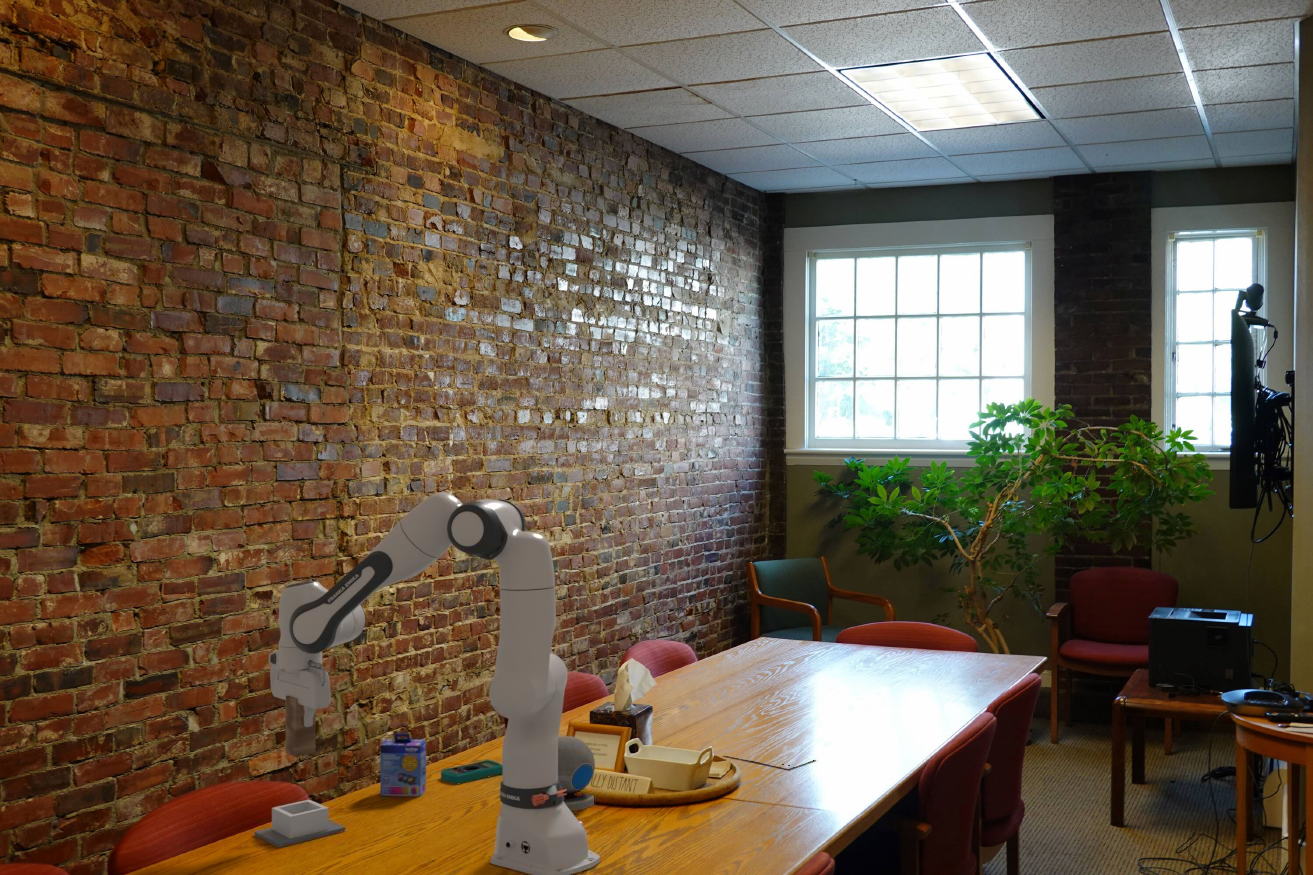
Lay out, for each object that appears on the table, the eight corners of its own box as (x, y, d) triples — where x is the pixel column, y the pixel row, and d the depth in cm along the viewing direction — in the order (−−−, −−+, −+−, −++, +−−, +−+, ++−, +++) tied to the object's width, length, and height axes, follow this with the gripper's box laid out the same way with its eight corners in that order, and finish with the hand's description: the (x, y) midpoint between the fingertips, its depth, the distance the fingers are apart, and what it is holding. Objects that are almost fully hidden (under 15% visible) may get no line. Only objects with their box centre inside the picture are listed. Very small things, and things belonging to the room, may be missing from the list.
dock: (345, 830, 244) (345, 805, 244) (278, 847, 233) (278, 821, 233) (320, 819, 252) (320, 795, 252) (254, 835, 241) (254, 809, 241)
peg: (315, 752, 243) (315, 695, 243) (295, 756, 240) (295, 698, 240) (305, 749, 246) (305, 692, 246) (285, 752, 243) (285, 695, 243)
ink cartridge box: (379, 796, 268) (379, 734, 269) (385, 790, 274) (385, 728, 274) (421, 797, 268) (421, 734, 268) (426, 790, 274) (426, 729, 274)
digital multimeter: (438, 780, 284) (438, 768, 284) (489, 769, 293) (489, 757, 293) (454, 786, 278) (454, 774, 278) (505, 775, 288) (505, 763, 288)
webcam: (570, 791, 272) (570, 727, 273) (606, 802, 263) (606, 736, 264) (527, 802, 263) (526, 736, 264) (563, 814, 254) (562, 746, 254)
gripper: (338, 662, 238) (338, 729, 238) (292, 650, 253) (292, 714, 252) (310, 666, 233) (310, 734, 233) (264, 654, 248) (264, 718, 248)
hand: (300, 723), depth 243 cm, fingers closed on peg, 4 cm apart
